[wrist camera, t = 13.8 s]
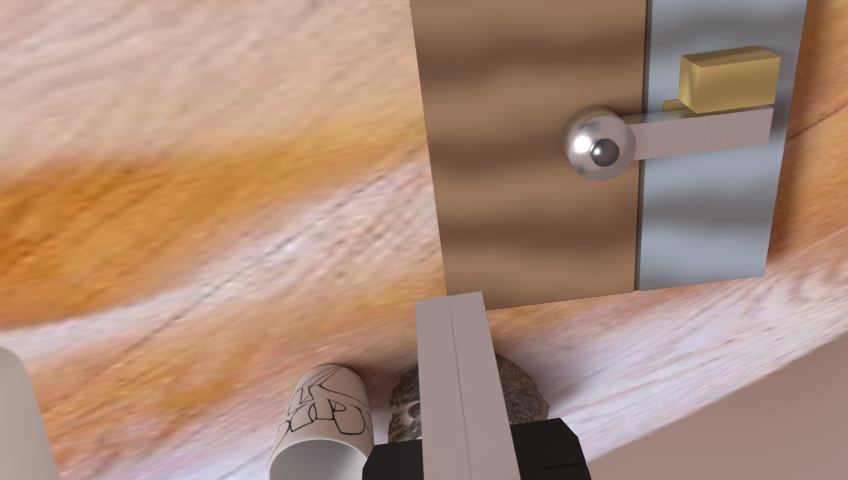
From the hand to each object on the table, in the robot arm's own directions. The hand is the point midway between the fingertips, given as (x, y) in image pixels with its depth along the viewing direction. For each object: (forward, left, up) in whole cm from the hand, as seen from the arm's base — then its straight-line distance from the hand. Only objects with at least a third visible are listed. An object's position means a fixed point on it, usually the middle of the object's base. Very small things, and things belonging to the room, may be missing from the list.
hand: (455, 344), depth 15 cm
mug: (+32, -13, -34) cm, 49 cm away
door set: (+8, +12, -34) cm, 37 cm away
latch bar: (+8, +16, -31) cm, 36 cm away
